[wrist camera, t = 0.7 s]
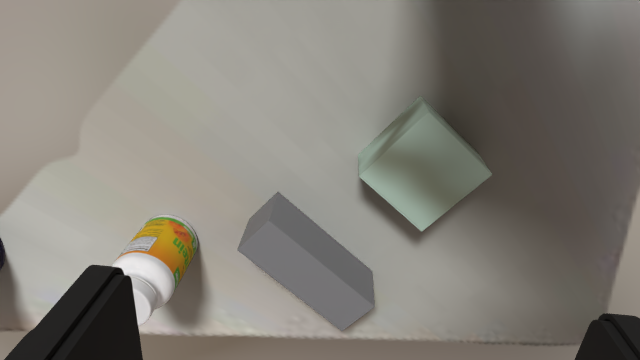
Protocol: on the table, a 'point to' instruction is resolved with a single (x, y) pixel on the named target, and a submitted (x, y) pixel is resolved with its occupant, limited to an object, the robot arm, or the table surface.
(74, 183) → the table surface
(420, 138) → the sage block
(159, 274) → the supplement bottle
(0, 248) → the storage jar
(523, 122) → the table surface
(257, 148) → the table surface
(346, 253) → the gray rectangular block
